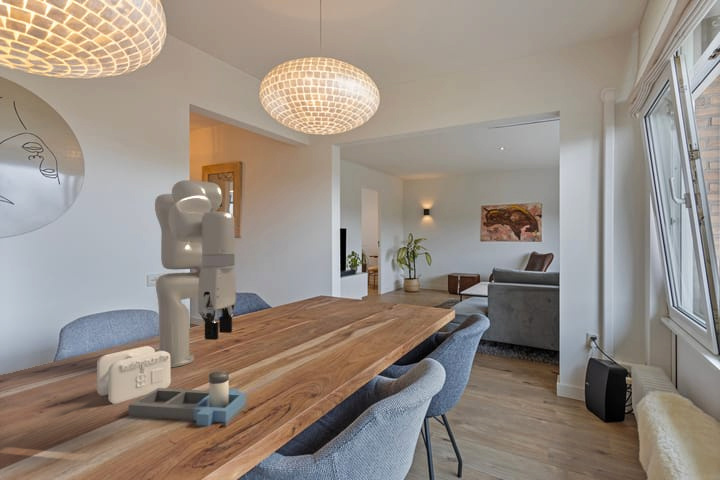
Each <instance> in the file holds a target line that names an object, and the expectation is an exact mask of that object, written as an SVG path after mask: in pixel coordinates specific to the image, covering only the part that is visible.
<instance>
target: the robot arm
mask: <svg viewBox="0 0 720 480" xmlns="http://www.w3.org/2000/svg"><path fill="white" fill-rule="evenodd" d="M222 202H223V191H222V189H221V187H220V186H219V185H218V184H217V183H215V182H212V181H210V182H209V181H200V180H189V179H185V180H180V181H177V182H176V183H175V184H174V185H173V186H172V188H171V193H163V194H160V195H158V196H156V198H155V200H154V211H155V215H156V218H157V221H158V223H159V227H160V231H161V232H160V233H161V234H160V235H161V238H160V239H161V240H160V241H161V245H160V246H161V247H160V248H161V249H160V250H161V251H160V260H161V261H160V262H161V265H162V267H163V268H164V269H166V270H172V271H173V270H176V271H177V270H195V271H190V272H173V273H172V272H171V273H164V274H162V275H160V276H159V277H158V278H157V279H156V282H155V291H156V297H157V302H158V303H157V304H158V348H157V349H156V348H155V349H154V348H153V349H154V350H155V352H158V351H165V352H168V353H169V354H170V368H177V367H181V366H184V365H188V364H190V363H193V361H194V360H195V356H194V355H193V354H191V353H190V312H189V309H188V307H187V306H186V305H185V304H184V303H183V302H182V301H183V300H186V299H187V300H188V299H189V300H190V299H197V309H198V310H197V312H198V314H199V315H200V316H201V319H202V323H203V324H204V339H205V341H206V340H210V341H216V340H218V339H219V333H222V334H231V333H232V332H233V315H234V309H235V305H236V302H237V298H236V296H237V295H236V293H237V292H236V291H237V289H236V286H237V285H236V276H235V275H236V274H235V267H236V265H235V264H236V262H235V261H236V259H235V257H236V256H235V250H236V249H235V248H236V247H235V246H236V245H235V233H236V232H235V215H233V213H231V212H227V211H218V210H219V208H220V207H221V205H222ZM219 311H220V316H219V317H218V314H219ZM211 313H212V314H211ZM218 318H219V321H218ZM217 321H218V322H217Z"/></svg>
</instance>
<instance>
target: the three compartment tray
mask: <svg viewBox="0 0 720 480" xmlns="http://www.w3.org/2000/svg"><path fill="white" fill-rule="evenodd" d="M245 408H247V392H240V389H239V388H229V405H228V406H227V407H226V408H218V407H209V390H202V389H201V390H199V389H182V388H169V387H167V388H157V389H155V390H154V391H152V392H150V393H148V394H145V395H142V396H140V398H138V399H136V400H134V401H132V402H131V403H129V404H128V416H130V417H131V416H132V417H145V418H157V419H169V420H170V419H173V420H174V419H175V420H187V421H196V426H204V427H209V426H210V425H212V424H213V423H214V422H215V423H221V424H220V425H219V426H220V427H227V426H228V425H229V424H230V423H231V422H233V420H234V419H236V417H237V416H238V415H239V414H240V413H241V412H242V411H244V409H245Z"/></svg>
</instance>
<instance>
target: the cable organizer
mask: <svg viewBox="0 0 720 480" xmlns="http://www.w3.org/2000/svg"><path fill="white" fill-rule="evenodd" d="M170 385H171V367H170V354H169V353H168V352H165V351H158V352H155V350H154V348H153V347H151V346H149V345H144V346H140V347H135V348H132V349H127V350H126V349H125V350H121V351H117V352H113V353H107V354H104V355H102V356H101V357H99V359H97V362H96V392H97V394H98V395H99V396H101V397H104V396H107V395H108V397H107V398H108V401H109V402H110V403H112V404H113V405H115V404H120V403H122V402H126V401H128V400H129V401H130V400H131V399H135V398H139V397H143V396H145V395H147V394H148V393H150V392H152V391H154V390H155V389H157V388H169V386H170Z"/></svg>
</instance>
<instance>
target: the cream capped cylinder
mask: <svg viewBox="0 0 720 480" xmlns="http://www.w3.org/2000/svg"><path fill="white" fill-rule="evenodd" d="M229 380H230V372H229V371H227V370H216V371H213V372H210V373H209V375H208V384H209V385H208V388H209V389H208V391H209V407H218V408H226V407H227V406H228V405H229V389H230V388H229V387H230V386H229V385H230V384H229V382H230V381H229Z"/></svg>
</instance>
